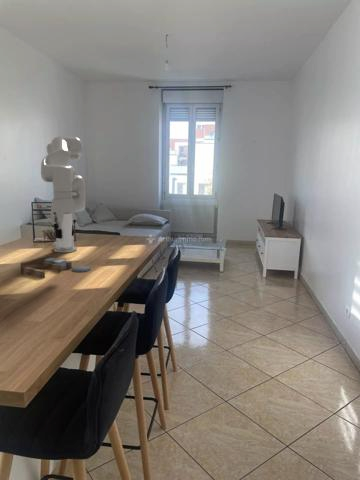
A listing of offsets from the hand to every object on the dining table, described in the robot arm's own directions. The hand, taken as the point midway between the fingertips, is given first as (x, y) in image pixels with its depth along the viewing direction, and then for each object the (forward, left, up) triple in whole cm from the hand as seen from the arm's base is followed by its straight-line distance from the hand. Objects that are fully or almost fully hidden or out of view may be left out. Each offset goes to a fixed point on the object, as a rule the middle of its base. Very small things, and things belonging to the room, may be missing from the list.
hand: (64, 236), depth 154 cm
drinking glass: (0, 0, -5) cm, 5 cm away
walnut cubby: (-13, +1, -18) cm, 22 cm away
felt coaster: (-1, +11, -18) cm, 21 cm away
